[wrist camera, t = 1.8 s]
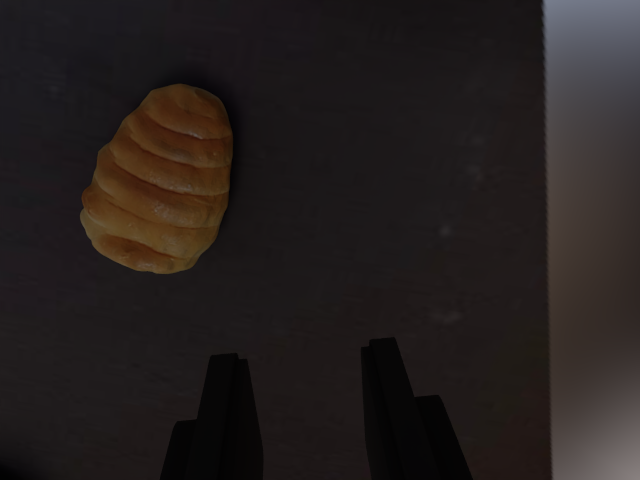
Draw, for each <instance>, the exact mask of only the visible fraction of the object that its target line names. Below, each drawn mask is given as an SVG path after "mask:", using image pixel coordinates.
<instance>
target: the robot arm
mask: <svg viewBox="0 0 640 480" xmlns="http://www.w3.org/2000/svg"><path fill="white" fill-rule="evenodd" d="M361 364H362V385H363V405H364V426H365V441H366V449H367V455H368V461H369V466H370V472H371V477H372V480H473V478H472V476H471V473H470V471H469V468H468V466H467V463H466V460H465V458H464V455H463V453H462V450H461V448H460V445H459V443H458V440H457V437H456V435H455V432H454V430H453V427H452V425H451V422H450V420H449V417H448V414H447V412H446V409H445V407H444V404H443V402H442V400H441V398H440V397H439V395H431V396H421V397H414V394H413V391H412V388H411V385H410V382H409V379H408V376H407V373H406V370H405V367H404V364H403V360H402V357H401V354H400V351H399V348H398V345H397V342H396V339H395V338H394V337H391V338H381V339H371V340H370V342H369V346H368V347H361ZM160 480H263V446H262V440H261V434H260V429H259V423H258V417H257V412H256V406H255V400H254V394H253V389H252V383H251V377H250V372H249V366H248V361H247V359H239V358H238V355H237V353H230V354H220V355H212V356H211V357H210V360H209V365H208V369H207V374H206V379H205V383H204V388H203V393H202V397H201V402H200V407H199V411H198V416H197V419H196V420H186V421H177V423H176V424H175V426H174V428H173V431H172V435H171V439H170V442H169V446H168V450H167V454H166V458H165V461H164V465H163V469H162V473H161V476H160Z"/></svg>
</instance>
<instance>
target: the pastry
mask: <svg viewBox="0 0 640 480" xmlns="http://www.w3.org/2000/svg"><path fill="white" fill-rule="evenodd" d="M232 157H233V135H232V130H231V126H230V123H229V118H228V114H227V112H226V109H225V107H224V105H223V103H222V102H221V100H220V99H219V98H218V97H216V96H215V95H213V94H211V93H209V92H208V91H206V90H203V89H200V88H197V87H192V86H189V85H186V84H180V83H179V84H173V85H169V86H166V87H162V88H158V89H154V90H152V91H151V92H150V93H149V94H148V96H147V97H146V98H145V99H144V100H143V101H142V103H141V104H140V106H139V107H138V108H137V109H136V110H134V111H133V112H132V113H130V114H129V115H128V116H127V117H126V118H125V119H124V120H123V122H122V124H121V125H120V127H119V129H118V131H117V133H116V134H115V135H114V137H113V139H112V141H111V142H109V143H108V144H106V145H105V146H104V147H103V148H102V149H101V150H100V151H99V152H98V157H97V168H96V170H95V172H94V176H93V179H92V183H91V185H90V186H89V187H87V188H86V189H85V190H84V192H83V194H82V202H83V206H84V209H83V210H82V211H81V213H80V219H81V222H82V225H83V226H84V228H85V230H86V234H87V236H88V237H89V238H90V239H91V240H92V244H93V246H94V247H95V248H96V250H97V251H98V252H100V253H101V254H102V255H104V256H106V257H108V258H110V259H112V260H113V261H116V262H118V263H120V264H122V265H125V266H127V267H130V268H132V269H134V270H138V271H152V272H154V273H161V274H168V273H175V272H178V271H181V270H186V269H189V268H191V267H192V266H193V265H195V263H196V262H197V260H198V258H199V256H200V255H201V254H202V252H204V251H206V250H207V249H208V248H209V247H210V245H211V244H212V243H213V242H214V241H215V239H216V237H217V235H218V231H219V226H220V223H221V221H222V218H223V214H224V212H225V210H226V208H227V206H228V201H229V189H230V170H231V161H232Z"/></svg>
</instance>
